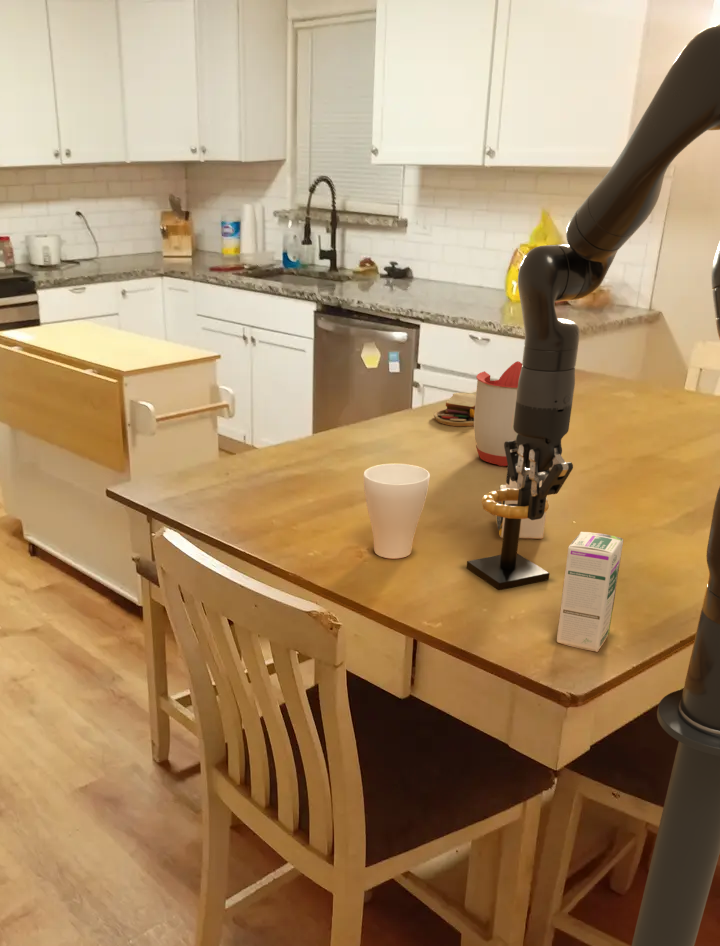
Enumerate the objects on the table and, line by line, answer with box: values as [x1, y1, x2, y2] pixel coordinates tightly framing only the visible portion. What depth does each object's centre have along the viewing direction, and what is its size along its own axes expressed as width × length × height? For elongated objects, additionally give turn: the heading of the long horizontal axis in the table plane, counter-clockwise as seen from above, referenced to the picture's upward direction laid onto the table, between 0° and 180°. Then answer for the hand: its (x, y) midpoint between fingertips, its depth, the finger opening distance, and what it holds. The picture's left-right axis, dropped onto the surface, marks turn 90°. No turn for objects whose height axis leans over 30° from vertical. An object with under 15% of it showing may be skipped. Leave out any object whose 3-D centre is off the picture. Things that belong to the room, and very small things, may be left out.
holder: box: [465, 504, 550, 591], centre depth 146 cm, size 9×9×11 cm
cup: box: [363, 462, 431, 560], centre depth 154 cm, size 10×10×14 cm
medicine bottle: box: [495, 464, 549, 540], centre depth 161 cm, size 7×7×12 cm
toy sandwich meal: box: [433, 392, 476, 427], centre depth 223 cm, size 12×14×5 cm
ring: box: [481, 489, 550, 519], centre depth 143 cm, size 10×10×2 cm
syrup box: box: [556, 530, 624, 653], centre depth 126 cm, size 6×6×14 cm
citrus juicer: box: [473, 361, 522, 467], centre depth 194 cm, size 16×17×20 cm
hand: (529, 515), depth 140 cm, fingers closed on ring, 2 cm apart
